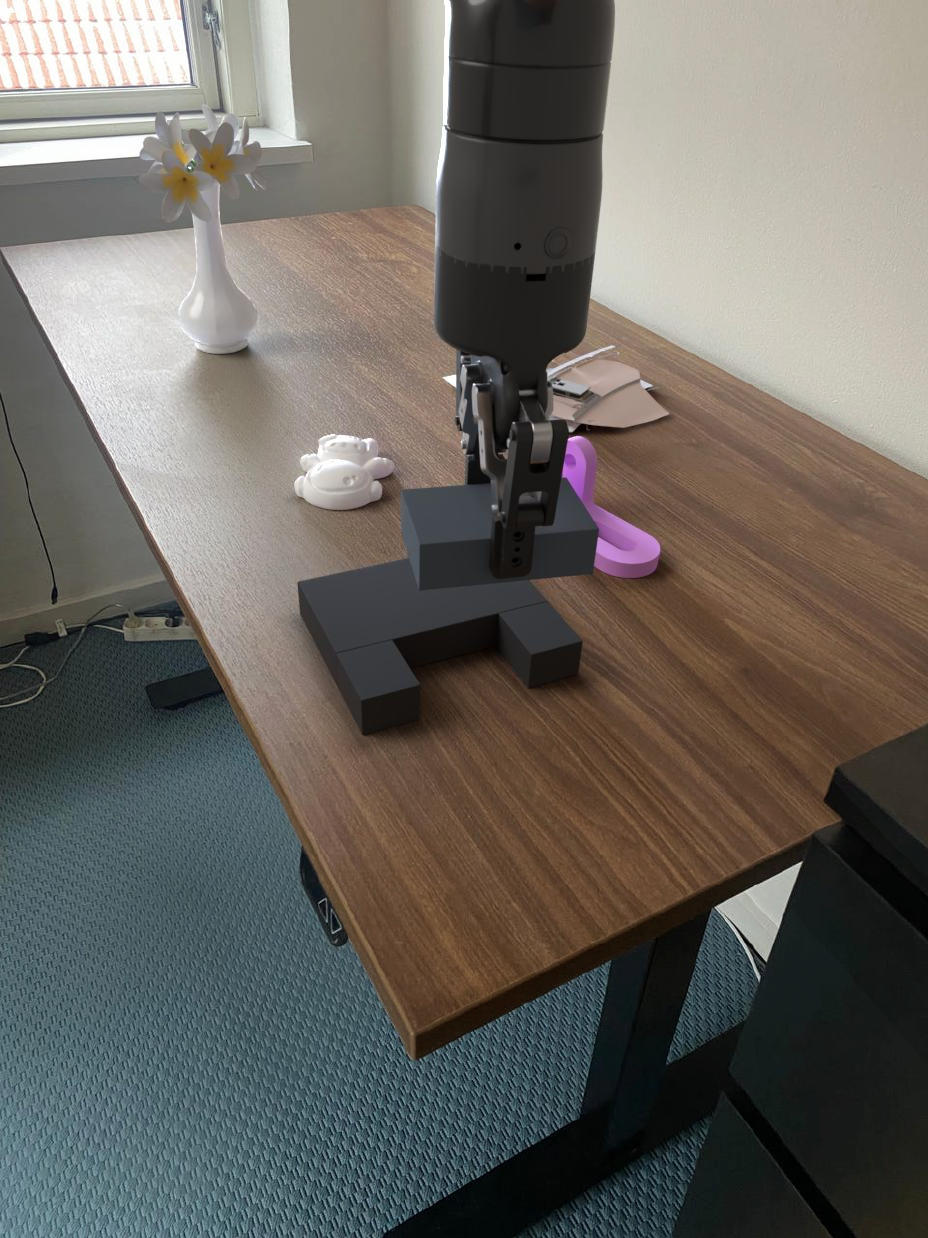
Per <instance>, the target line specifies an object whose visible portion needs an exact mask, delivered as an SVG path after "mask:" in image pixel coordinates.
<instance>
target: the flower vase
mask: <svg viewBox="0 0 928 1238" xmlns="http://www.w3.org/2000/svg"><path fill="white" fill-rule="evenodd" d="M201 111H202V113H203V116H204V119H205V122H206V125H207V129H205V133H204V132H202V131H201V130H199V129H198V128H190V129H185V128H182V126H181V122H180V113H179V112H178V111H177V112H176V113H175V114H174V115H173V117H172V119H171V120H170V121H169V123H168V120H167V118H166V116H165V114H164V112H162V111H160V110H159V111H158V112H157V113H156V115H155V118H154V129H155V130H154V131H155V133H156V136H157V137H155V136H146V137H145V138H144V139H143V141H142V148H141V149H140V151H139V159H140V160H142V161H153V160H154V162H153V163H152V165H151V166H150V168H149V170H148V171H147V173H144V174H141V175H139V177H138V183H139V184H140V185H141V187H143V188H144V189H146V190H148V191H150V192H153V193H158V194H159V193H160V194H161V193H162V194H163V193H165V195H164V198H163V199H162V202H161V206H160V207H161V209H160V215H161V218H162V219H163V221H164V222H166V223H169V224H171V223H174V222H175V221H177V220H178V219H179V218H180V217H181V215H182V213H183V211H184V208H185V206H187V208H188V210H189V211H190V212H191V216H192V223H193V233H194V243H195V244H194V245H195V254H196V270H195V277H194V280H193V284H192V287H191V289H190V291H189V292H188V293H187V295H185V297H184V298H183V300H182V302H181V304H180V305H179V308H178V313H177V321H178V325H179V327H180V329H181V330H182V331H183V332H184V334H186V336H187V337H188V338H190V339H191V340H193V341H194V344H195V347H196V348H197V349H198V350H199V351H201V352H204V353H207V354H214V355H225V354H233V353H237V352H240V351H242V350H243V349H245V348H246V347H247V346H248V344H249V339H248V338H249V337H250V336H252V335H253V334H254V332H255V330H256V329H257V327H258V325H259V322H260V316H259V312H258V309H257V307H256V305H255V303H254V301H253V300H252V299H251V298H250V297H249V295H247V294H246V293H245V292H244V291H243V290H242V289H240V287H239V286H238V285H237V283H236V281H235V279H234V277H233V275H232V274H231V271H230V268H229V264H228V261H227V257H226V251H225V245H224V238H223V232H222V224H221V217H220V216H221V215H220V193H221V189H222V191H223V192H224V193H225V194H226V196H228V198H230V199H231V200H233V201H238V200H239V199H240V197H241V189H240V185H239V182H238V181H237V179H236V178H235V176H233V175H244V176H245V177H246V178H247V180H248V181H249V183H250V184H251V185H252V187H253V189H254V190H255V191H256V192H258V191H259V188H258V186H259V187H260V188H261V189H262V190H264V191H265V192H267V191H268V186H267V183H266V180H265V178H264V176H263V174H262V172H261V170H259V168H258V165H257V163H258V162H260V160H261V158H262V155H263V152H262V151H263V149H262V145H261V144H260V142H259V141H257V140H253V141H251V142H249V140H250V127H249V121H248V118H247V117H246V116H244V117H243V122H242V128H241V133H240V137H239V140H236V138H237V136H238V134H239V131H240V122H239V118H238V117H237V116H236V114H234V113H230V112H229V113H227V114H225V115H224V116H223V118H222V120H221V122H220V123H219V122H218V118H217V117H216V115H215V113H214V112H213V110H212V109H211V107H209V105H207V104H206V103H202V104H201ZM195 159H196V160H197V162H196V161H195ZM189 164H190V165H189Z"/></svg>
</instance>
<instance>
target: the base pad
mask: <svg viewBox="0 0 928 1238" xmlns="http://www.w3.org/2000/svg"><path fill="white" fill-rule="evenodd" d="M296 584H297V585H296V586H297V594H298V606H299V607H298V608H299V615H300V617H301V619H302V621H303V622H304V624H305V626H306V629H307V630H308V631H309V632H308V633H309V634H310V636H311V638H312V640H313V642H314V644H315V646H316V648H317V649H318V651H319V654H320V656H321V657H322V659H323V661H324V663H325V665H326V667H327V669H328V671H329V673H330V675H331V677H332V679H333V680H334V683H335V684H336V686H337V689H338V691H339V692H340V694H341V697H342V699H343V700H344V702H345V705H346V706H347V708H348V710H349V712H350V714H351V715H352V718H353V719H354V721H355V724H356V725H357V728H358V729H359V731H360V733H361V735H362V736H364V735H365V736H366V735H368V734H372V733H376V732H379V731H383V730H386V729H389V728H393V727H397V726H400V725H403V724H407V723H411V722H414V721H417V720H420V719H421V684H420V682H419V681H418V679H417V677H416V675H415V674H414V672H413V671H412V669H413V668H417V667H421V666H425V665H428V664H432V663H436V662H440V661H444V660H447V659H451V658H456V657H460V656H463V655H467V654H471V653H474V652H478V651H482V650H486V649H489V648H494V647H496V648H497V649H498V650H499V652H500V653H501V655H503V658H505V661H507V662H508V664H509V665H510V666H511V667H512V669H513V670H514V672H515V673H516V674H517V676H518V677H519V678H520V680H521V681H522V683H524V685H525V686H526V688H527V689H530V688H531V689H532V688H535V687H539V686H541V685H545V684H548V683H552V682H555V681H558V680H563V679H565V678H570V677H572V676H575V675H576V676H577V675H579V672H580V671H579V670H580V664H581V657H582V651H583V650H582V649H583V645H584V644H583V642H584V640H582V638H581V637H580V636H579V635H578V634H577V633H576V631H575V630H574V629H573V628H572V627H571V626H570V625H569V623H568V622H567V621H566V620H565V619H564V617H562V616H561V614H560V613H559V612H558V611H557V610H556V608H554V606H553V605H552V604H551V603H550V601H548V600H547V599H546V598H545V596H544V595H543V594H542V593H541V592H540V591H539V590H538V588H537V587H536V586H535V585H534V584H533V582H532V581H531V580H524V581H514V582H504V583H493V584H483V585H473V586H462V587H452V588H441V589H431V590H421V591H420V590H419V589H418V585H417V582H416V579H415V576H414V573H413V569H412V566H411V563H410V560H409V557H406V558H400V559H395V560H392V561H386V562H383V563H377V564H373V565H369V566H364V567H359V568H355V569H351V570H345V571H341V572H336V573H331V574H327V575H322V576H318V577H313V578H308V579H304V580H299V581H297V582H296Z"/></svg>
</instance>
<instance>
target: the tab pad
mask: <svg viewBox="0 0 928 1238" xmlns="http://www.w3.org/2000/svg"><path fill="white" fill-rule="evenodd" d="M521 496H528V492H527V493H523V494H522V495H521ZM491 506H492V495H491V483H484V484H471V485H465V484H456V485H446V486H443V485H442V486H431V487H430V486H429V487H418V488H404V489H401V490H400V534H401V537H402V540H403V544H404V546H405V550H406V553H407V558H409V560H410V563H411V566H412V569H413V573H414V576H415V579H416V582H417V585H418V589H419V590H420V591H421V590H431V589H441V588H452V587H462V586H473V585H483V584H493V583H504V582H514V581H524V580H529V581H531V580H532V581H533V580H534V581H535V580H544V579H554V578H565V577H574V576H575V577H576V576H585V575H593V574H594V568H595V567H594V562H595V555H596V548H597V541H598V537H599V536H598V534H599V528H598V526H597V525H596V523H595V522H594V520H593V518H592V517H591V515H590V514H589V512H588V511H587V509H586V507H585V506H584V504H583V503H582V501H581V500H580V498H579V496H578V495H577V493H576V492H575V490H574V489H573V487H572V485H571V484H570V482H569V481H568V479H567V478H566V477H564V478H561V484H560V489H559V495H558V501H557V507H556V513H555V519H554V524H553V525H552V526H535V536H534V546H533V557H532V567H531V571H530V573H529V574H528V575H526V576H524V577H514V578H503V579H497V578H495V577H494V576H493V575H492V572H491V570H490V567H489V563H490V547H491V528H492V513H491Z"/></svg>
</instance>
